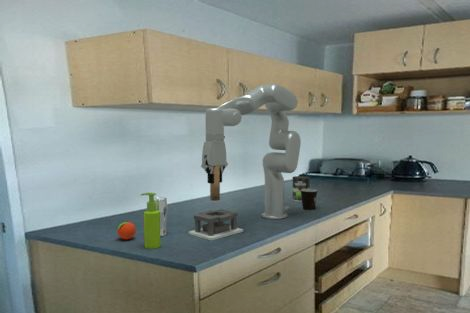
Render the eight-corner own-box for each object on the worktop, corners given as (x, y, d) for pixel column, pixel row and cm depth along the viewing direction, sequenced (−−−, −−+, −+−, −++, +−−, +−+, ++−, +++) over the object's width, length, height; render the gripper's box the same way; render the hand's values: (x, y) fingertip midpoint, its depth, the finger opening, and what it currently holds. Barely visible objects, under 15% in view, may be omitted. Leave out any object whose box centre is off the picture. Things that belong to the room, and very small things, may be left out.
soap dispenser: (147, 243, 147) (145, 191, 146) (163, 244, 145) (162, 192, 144) (139, 247, 142) (137, 194, 140) (155, 249, 140) (154, 194, 138)
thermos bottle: (215, 198, 163) (215, 156, 162) (222, 199, 160) (221, 156, 159) (208, 199, 160) (207, 156, 159) (214, 201, 157) (214, 156, 156)
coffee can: (308, 202, 226) (308, 178, 225) (291, 201, 229) (291, 177, 228) (310, 199, 235) (310, 176, 234) (293, 198, 238) (293, 175, 237)
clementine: (123, 243, 147) (123, 225, 147) (111, 240, 151) (111, 222, 151) (139, 238, 154) (139, 221, 153) (128, 235, 158) (127, 218, 157)
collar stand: (220, 225, 173) (220, 208, 172) (243, 231, 163) (242, 212, 162) (188, 234, 160) (188, 214, 159) (211, 240, 150) (210, 220, 149)
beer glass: (168, 236, 157) (168, 199, 156) (151, 237, 155) (150, 200, 154) (166, 231, 163) (166, 196, 162) (150, 233, 161) (149, 197, 160)
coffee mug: (309, 206, 213) (309, 188, 213) (320, 209, 206) (320, 190, 205) (293, 209, 207) (293, 190, 206) (304, 211, 200) (304, 192, 199)
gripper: (223, 138, 167) (223, 180, 168) (193, 138, 155) (193, 183, 156) (235, 138, 162) (235, 181, 163) (205, 138, 150) (205, 185, 151)
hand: (214, 182), depth 159 cm, fingers closed on thermos bottle, 4 cm apart
